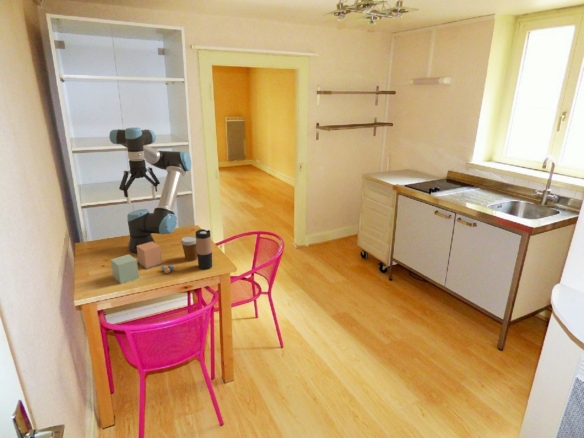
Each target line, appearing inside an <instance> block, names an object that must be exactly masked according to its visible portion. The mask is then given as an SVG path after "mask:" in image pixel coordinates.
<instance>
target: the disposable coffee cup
mask: <svg viewBox="0 0 584 438" xmlns="http://www.w3.org/2000/svg"><path fill="white" fill-rule="evenodd" d="M180 243H181V245H182V249H183V253H184V259H185V261H187V262H194V261H196V260H198V257H197V246H196V235H188V236H184V237H182V238H181V241H180Z"/></svg>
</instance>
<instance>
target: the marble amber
mask: <svg viewBox="0 0 584 438" xmlns="http://www.w3.org/2000/svg"><path fill="white" fill-rule="evenodd" d="M163 272H164V273H165V274H170V273H171V271H170V268H168V267H167V268H165V269H164V271H163Z"/></svg>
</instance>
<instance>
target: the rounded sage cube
mask: <svg viewBox="0 0 584 438" xmlns="http://www.w3.org/2000/svg"><path fill="white" fill-rule="evenodd" d="M110 263H111V269H112V275H113V279H114V278H115V281H116V282H117V283H119V284H120V285H122V284H126V283H128V282H130V281H133V280H138V279H140V274H139V266H138V259H136V258H135V257H133V256H132V255H131V254H129V253H128V254H125V255H122V256H119V257H115V258H111V259H110Z"/></svg>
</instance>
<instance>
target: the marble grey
mask: <svg viewBox="0 0 584 438" xmlns="http://www.w3.org/2000/svg"><path fill="white" fill-rule="evenodd" d="M165 268H168V266H167V265H161V268H160V269H161V271H162V272H164V269H165Z"/></svg>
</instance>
